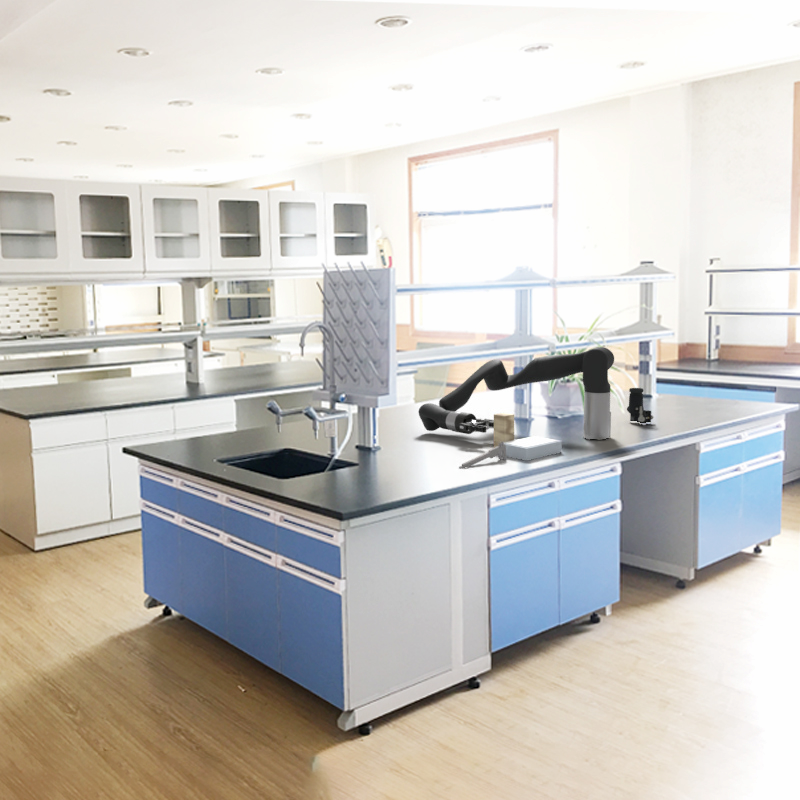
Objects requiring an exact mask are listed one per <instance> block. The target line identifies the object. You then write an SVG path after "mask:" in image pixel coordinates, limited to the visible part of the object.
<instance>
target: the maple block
mask: <svg viewBox="0 0 800 800" xmlns="http://www.w3.org/2000/svg"><path fill="white" fill-rule="evenodd" d="M493 420H494V429H493V448H495V447H497V446H499V443H501V441H502V442H508V441H513V440H515V414H514V413H508V412H507V413H506V412H500V413H495V414H493Z"/></svg>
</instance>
